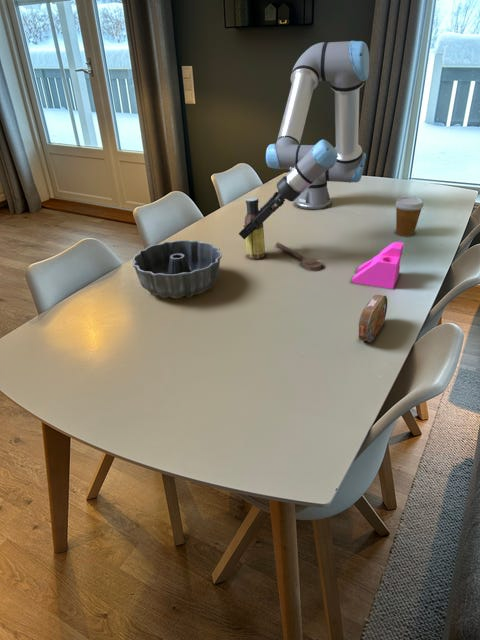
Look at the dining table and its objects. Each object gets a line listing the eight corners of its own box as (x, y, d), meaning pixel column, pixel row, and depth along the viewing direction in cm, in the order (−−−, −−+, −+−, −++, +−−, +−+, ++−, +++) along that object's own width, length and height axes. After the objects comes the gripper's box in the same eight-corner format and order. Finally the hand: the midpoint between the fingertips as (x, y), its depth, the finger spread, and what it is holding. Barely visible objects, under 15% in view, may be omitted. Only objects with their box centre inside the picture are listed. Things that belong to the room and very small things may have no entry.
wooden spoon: (270, 247, 165) (270, 243, 164) (282, 244, 167) (282, 240, 166) (311, 271, 147) (311, 267, 146) (324, 267, 149) (325, 263, 148)
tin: (367, 348, 110) (370, 318, 106) (354, 345, 112) (357, 315, 108) (386, 319, 121) (390, 290, 117) (374, 316, 123) (378, 287, 118)
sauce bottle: (267, 253, 161) (266, 196, 151) (262, 260, 156) (260, 202, 146) (249, 251, 163) (246, 195, 153) (243, 258, 158) (240, 201, 148)
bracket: (398, 274, 143) (403, 242, 138) (393, 288, 135) (397, 256, 130) (359, 268, 148) (362, 237, 142) (351, 282, 140) (354, 250, 134)
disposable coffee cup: (415, 228, 175) (420, 196, 168) (421, 237, 167) (426, 204, 160) (389, 228, 176) (393, 196, 169) (394, 237, 168) (398, 205, 161)
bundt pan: (187, 260, 159) (184, 232, 154) (241, 283, 143) (240, 252, 137) (120, 287, 144) (114, 258, 139) (173, 316, 127) (168, 284, 122)
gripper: (289, 167, 151) (242, 215, 163) (279, 184, 135) (228, 235, 147) (305, 184, 153) (258, 230, 165) (297, 202, 137) (245, 251, 149)
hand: (244, 232), depth 156 cm, fingers closed on sauce bottle, 6 cm apart
